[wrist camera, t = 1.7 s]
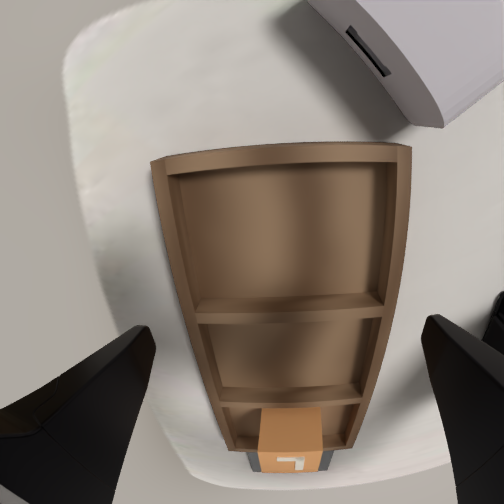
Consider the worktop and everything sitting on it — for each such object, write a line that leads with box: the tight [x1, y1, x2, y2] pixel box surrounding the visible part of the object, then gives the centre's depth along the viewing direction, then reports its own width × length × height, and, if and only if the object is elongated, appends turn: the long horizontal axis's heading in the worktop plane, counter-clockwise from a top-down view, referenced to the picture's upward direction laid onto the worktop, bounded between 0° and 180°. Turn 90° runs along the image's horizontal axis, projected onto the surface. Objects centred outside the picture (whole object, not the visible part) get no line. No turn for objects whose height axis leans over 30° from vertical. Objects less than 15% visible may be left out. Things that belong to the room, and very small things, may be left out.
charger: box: [307, 0, 504, 128], centre depth 7 cm, size 5×9×15 cm
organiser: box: [150, 142, 412, 452], centre depth 19 cm, size 13×28×2 cm, turn 5°
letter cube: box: [258, 407, 323, 473], centre depth 21 cm, size 5×5×5 cm
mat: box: [247, 450, 334, 472], centre depth 29 cm, size 10×7×1 cm
